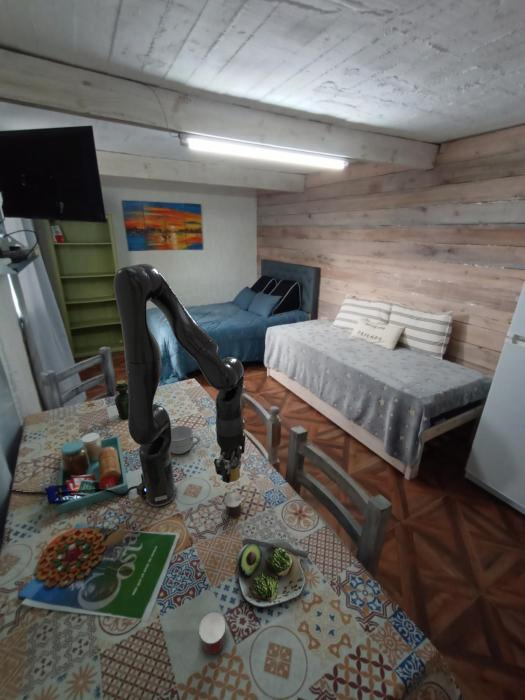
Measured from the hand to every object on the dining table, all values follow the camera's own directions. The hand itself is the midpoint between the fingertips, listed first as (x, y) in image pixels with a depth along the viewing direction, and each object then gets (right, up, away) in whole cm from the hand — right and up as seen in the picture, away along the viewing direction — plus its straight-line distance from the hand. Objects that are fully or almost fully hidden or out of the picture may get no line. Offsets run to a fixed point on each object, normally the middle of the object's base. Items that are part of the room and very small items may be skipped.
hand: (231, 474), depth 94 cm
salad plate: (+10, -21, -12) cm, 26 cm away
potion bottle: (-55, +6, +56) cm, 79 cm away
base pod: (0, -14, +6) cm, 15 cm away
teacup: (-23, -3, +33) cm, 40 cm away
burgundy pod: (-2, -26, -25) cm, 36 cm away
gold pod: (0, 0, 0) cm, 0 cm away
